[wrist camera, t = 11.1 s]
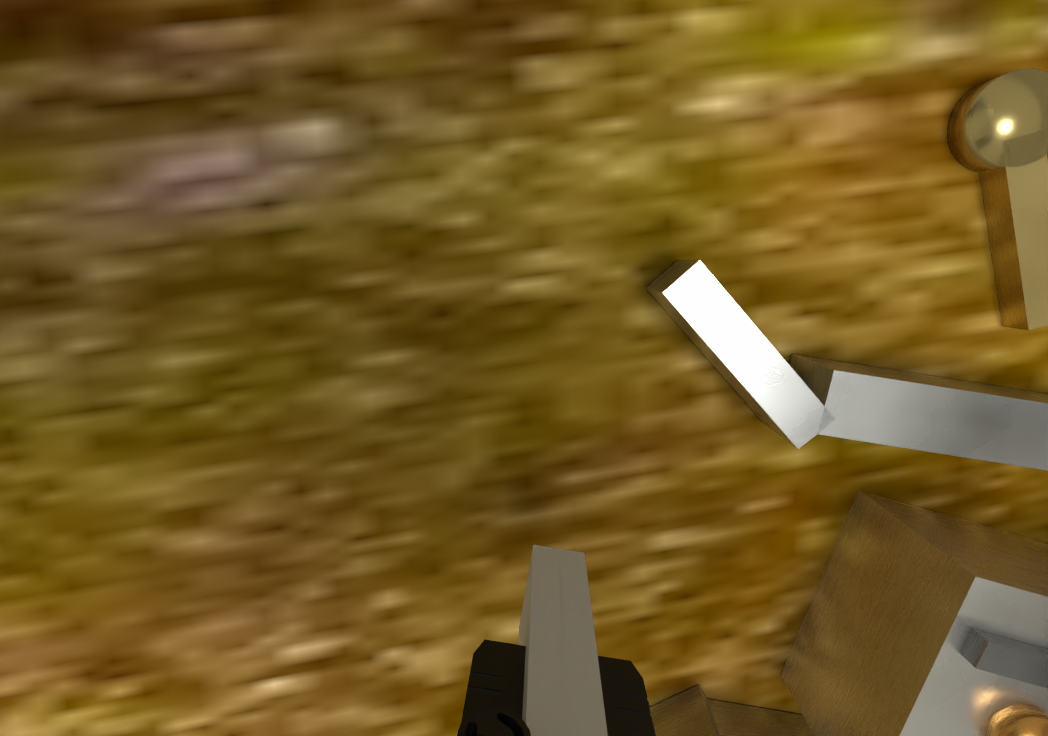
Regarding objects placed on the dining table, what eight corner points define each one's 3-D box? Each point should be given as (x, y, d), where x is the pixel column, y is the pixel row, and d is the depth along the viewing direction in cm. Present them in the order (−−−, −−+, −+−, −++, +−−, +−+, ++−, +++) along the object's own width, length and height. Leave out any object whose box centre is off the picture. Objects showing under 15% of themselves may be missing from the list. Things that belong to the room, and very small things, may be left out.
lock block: (855, 487, 21) (993, 589, 14) (1167, 575, 21) (1446, 717, 14) (778, 671, 22) (871, 838, 16) (1069, 752, 22) (1281, 952, 16)
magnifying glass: (938, 96, 18) (965, 85, 17) (1029, 69, 18) (1063, 55, 17) (975, 332, 19) (1002, 336, 18) (1060, 309, 19) (1094, 312, 18)
